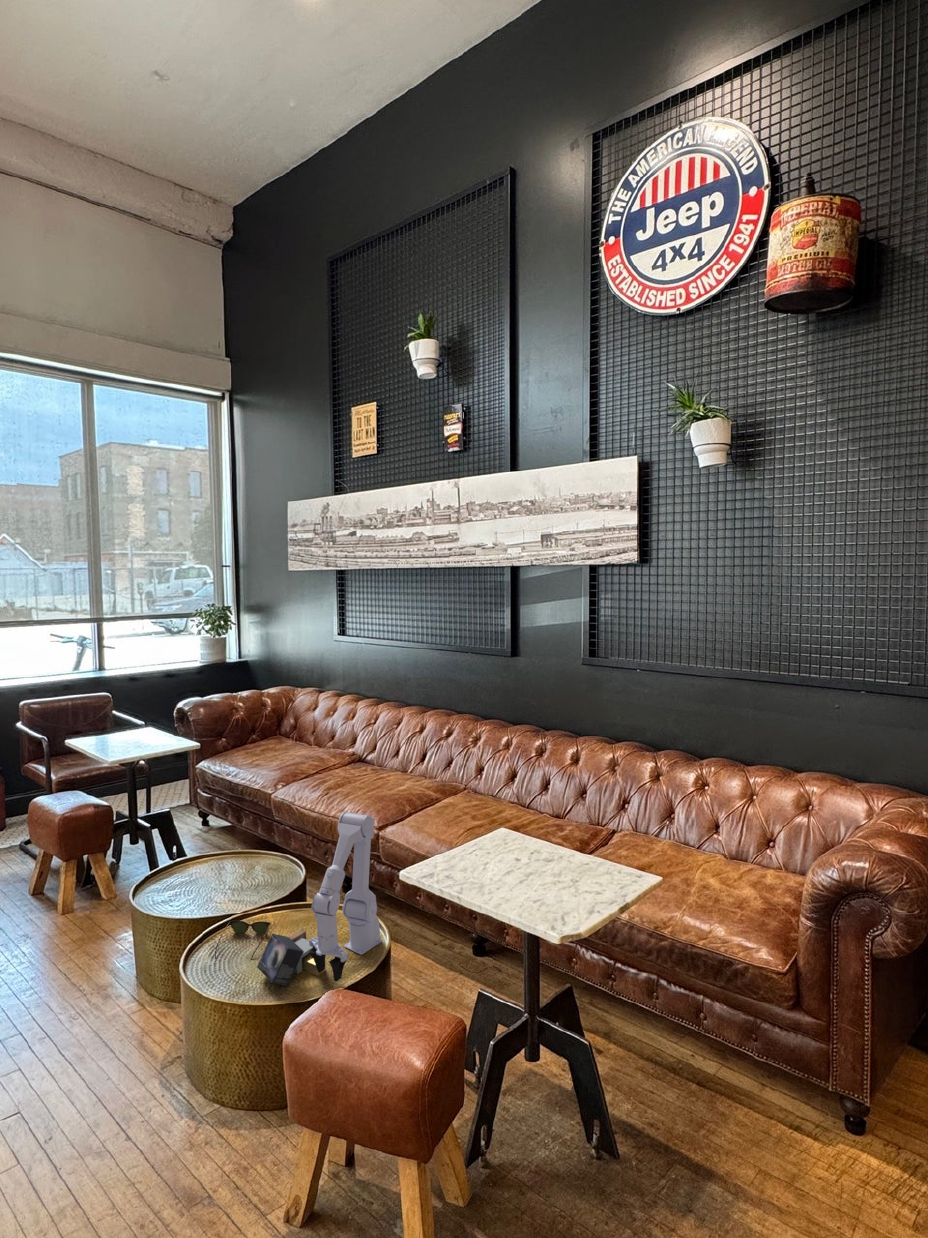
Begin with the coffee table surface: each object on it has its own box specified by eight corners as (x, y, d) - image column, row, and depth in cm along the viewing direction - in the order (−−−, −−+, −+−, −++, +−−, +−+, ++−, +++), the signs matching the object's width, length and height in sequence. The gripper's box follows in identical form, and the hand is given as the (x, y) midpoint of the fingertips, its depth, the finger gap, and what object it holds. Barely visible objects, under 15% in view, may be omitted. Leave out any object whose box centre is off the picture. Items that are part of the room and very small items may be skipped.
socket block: (302, 952, 231) (301, 937, 230) (317, 959, 227) (316, 944, 226) (281, 966, 224) (280, 950, 223) (297, 974, 220) (296, 958, 220)
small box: (254, 966, 218) (271, 932, 221) (272, 970, 222) (288, 936, 225) (271, 983, 210) (287, 947, 213) (288, 986, 214) (305, 951, 217)
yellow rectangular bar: (302, 959, 227) (302, 950, 227) (325, 970, 222) (325, 960, 221) (294, 965, 225) (294, 955, 224) (317, 976, 219) (317, 966, 218)
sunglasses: (272, 935, 242) (270, 921, 241) (255, 965, 228) (253, 951, 227) (230, 933, 244) (228, 920, 243) (211, 963, 229) (209, 949, 228)
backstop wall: (302, 946, 234) (301, 929, 233) (306, 949, 233) (305, 931, 232) (269, 967, 224) (268, 948, 223) (273, 969, 223) (272, 951, 222)
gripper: (300, 930, 216) (302, 973, 218) (333, 947, 207) (336, 991, 209) (318, 920, 222) (320, 961, 223) (352, 935, 213) (354, 978, 215)
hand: (329, 975), depth 217 cm, fingers open, 7 cm apart
